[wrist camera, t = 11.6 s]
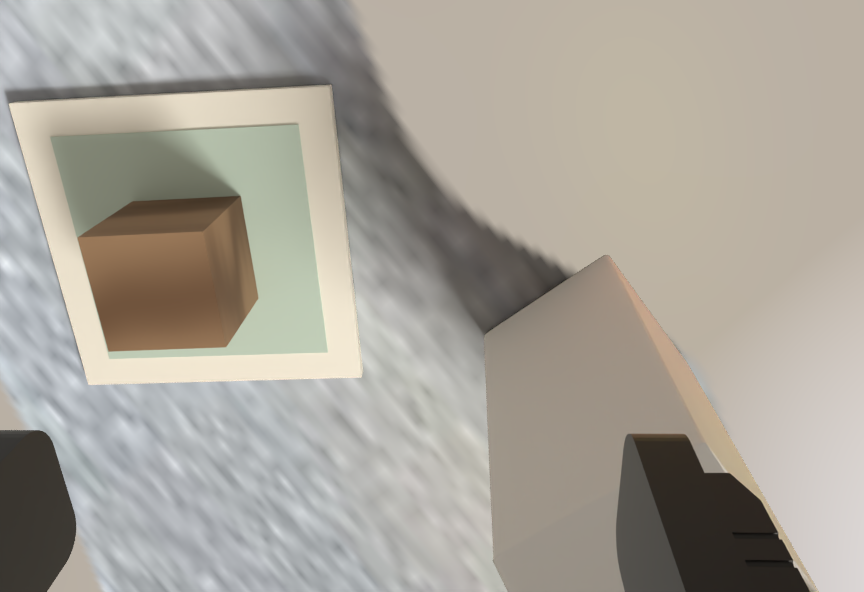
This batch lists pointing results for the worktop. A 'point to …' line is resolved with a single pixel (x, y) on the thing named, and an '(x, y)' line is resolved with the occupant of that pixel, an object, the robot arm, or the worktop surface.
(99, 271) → the walnut block
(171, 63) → the worktop surface
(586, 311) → the milk carton
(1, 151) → the worktop surface
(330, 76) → the worktop surface
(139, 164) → the coaster
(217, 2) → the worktop surface
